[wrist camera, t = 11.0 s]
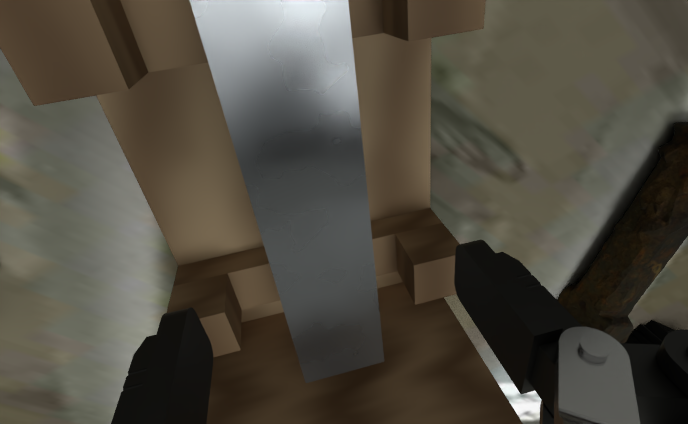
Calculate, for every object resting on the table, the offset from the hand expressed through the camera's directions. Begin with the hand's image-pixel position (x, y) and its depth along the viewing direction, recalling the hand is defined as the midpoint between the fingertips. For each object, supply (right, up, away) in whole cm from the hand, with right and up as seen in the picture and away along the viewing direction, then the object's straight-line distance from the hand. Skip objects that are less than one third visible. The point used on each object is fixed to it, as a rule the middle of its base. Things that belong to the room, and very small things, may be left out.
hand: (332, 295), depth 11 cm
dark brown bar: (+23, 0, +21) cm, 31 cm away
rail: (-2, +5, +7) cm, 9 cm away
